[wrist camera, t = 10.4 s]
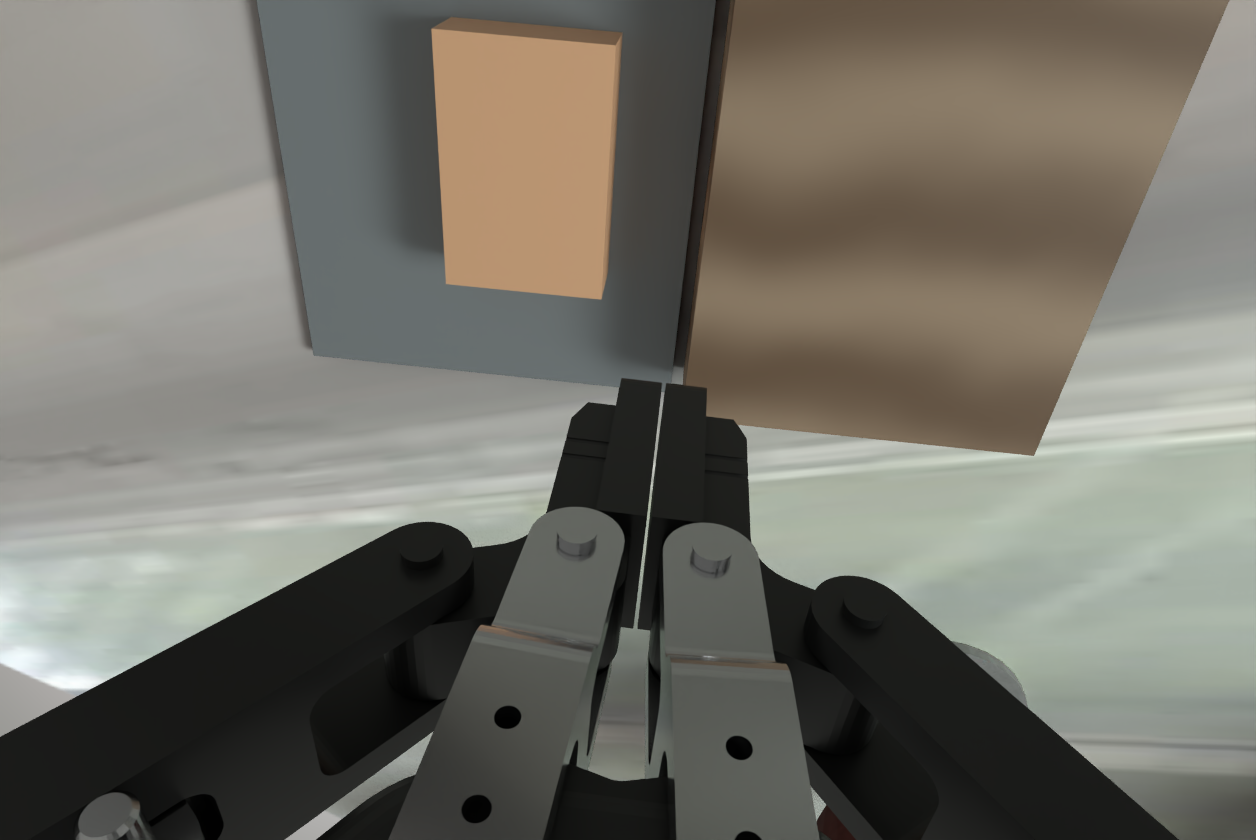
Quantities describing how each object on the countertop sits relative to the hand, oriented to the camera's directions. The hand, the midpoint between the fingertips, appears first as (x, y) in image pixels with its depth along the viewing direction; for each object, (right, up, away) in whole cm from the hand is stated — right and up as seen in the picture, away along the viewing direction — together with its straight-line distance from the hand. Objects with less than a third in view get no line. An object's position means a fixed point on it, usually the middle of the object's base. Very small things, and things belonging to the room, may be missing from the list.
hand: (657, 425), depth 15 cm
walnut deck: (+10, +9, +17) cm, 21 cm away
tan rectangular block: (-4, +9, +16) cm, 19 cm away
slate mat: (-6, +11, +17) cm, 21 cm away
